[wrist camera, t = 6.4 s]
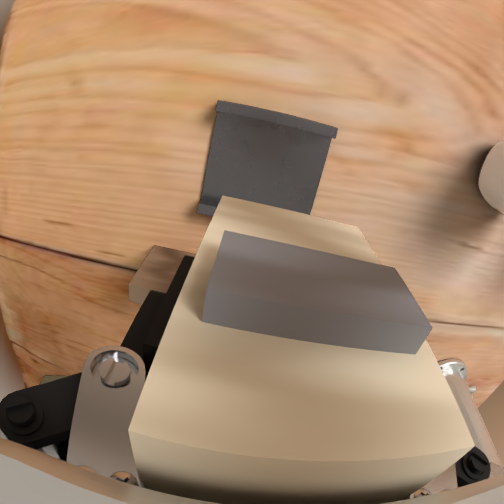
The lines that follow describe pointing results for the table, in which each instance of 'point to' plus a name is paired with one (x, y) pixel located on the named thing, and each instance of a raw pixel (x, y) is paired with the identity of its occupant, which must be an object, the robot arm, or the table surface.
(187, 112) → the table surface
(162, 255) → the door panel
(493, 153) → the spread jar
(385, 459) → the block
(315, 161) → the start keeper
